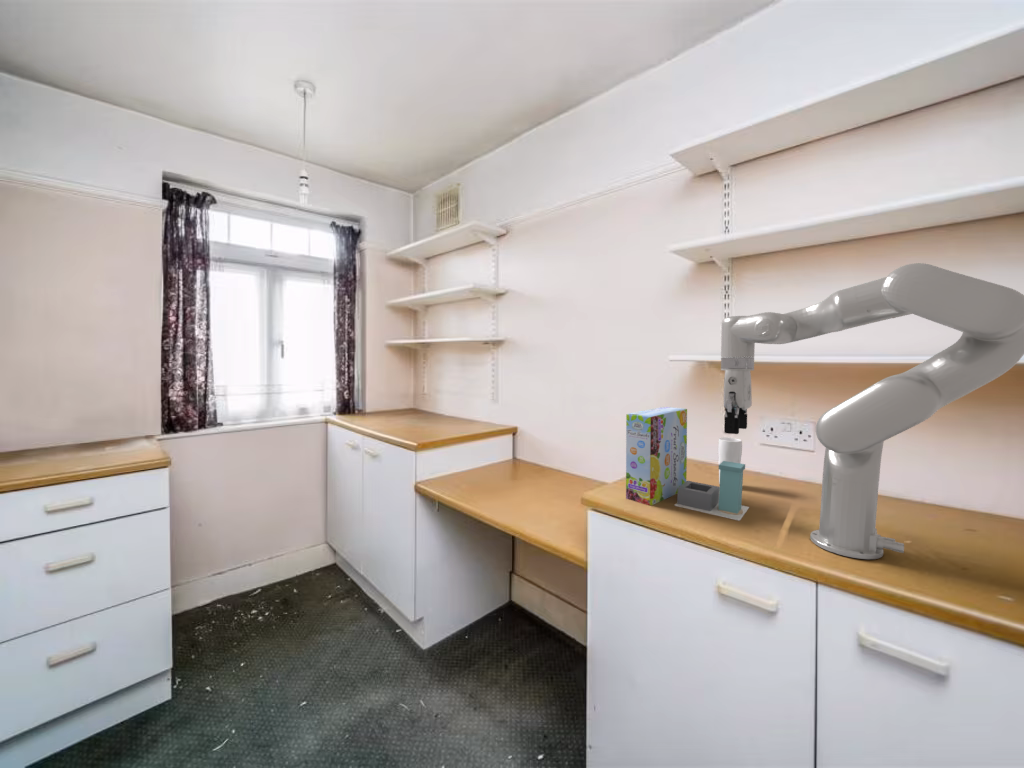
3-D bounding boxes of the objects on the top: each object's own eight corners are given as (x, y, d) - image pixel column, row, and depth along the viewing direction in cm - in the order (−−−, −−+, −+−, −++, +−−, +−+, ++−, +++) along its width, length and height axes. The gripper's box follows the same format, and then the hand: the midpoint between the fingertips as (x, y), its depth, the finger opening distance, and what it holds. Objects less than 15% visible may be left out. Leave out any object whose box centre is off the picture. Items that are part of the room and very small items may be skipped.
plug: (743, 508, 111) (745, 464, 110) (738, 514, 107) (740, 468, 106) (721, 504, 114) (723, 460, 113) (716, 509, 110) (718, 464, 109)
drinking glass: (741, 484, 136) (743, 438, 134) (738, 490, 130) (741, 442, 129) (718, 480, 139) (720, 436, 138) (714, 486, 134) (716, 439, 133)
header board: (749, 510, 113) (750, 490, 113) (739, 524, 104) (740, 502, 104) (687, 497, 123) (688, 479, 123) (673, 508, 114) (674, 489, 114)
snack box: (660, 485, 134) (663, 405, 132) (687, 492, 128) (690, 408, 126) (622, 501, 120) (625, 412, 118) (650, 510, 113) (653, 415, 111)
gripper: (746, 365, 99) (745, 437, 100) (760, 364, 112) (758, 427, 113) (712, 365, 103) (711, 434, 104) (729, 364, 117) (727, 425, 118)
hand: (735, 430), depth 109 cm, fingers open, 9 cm apart
